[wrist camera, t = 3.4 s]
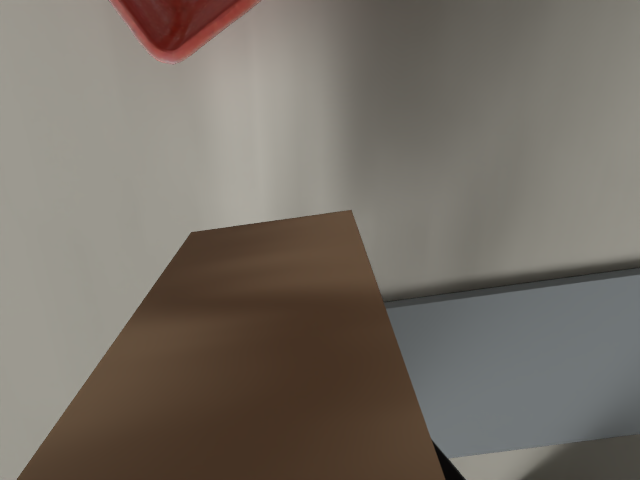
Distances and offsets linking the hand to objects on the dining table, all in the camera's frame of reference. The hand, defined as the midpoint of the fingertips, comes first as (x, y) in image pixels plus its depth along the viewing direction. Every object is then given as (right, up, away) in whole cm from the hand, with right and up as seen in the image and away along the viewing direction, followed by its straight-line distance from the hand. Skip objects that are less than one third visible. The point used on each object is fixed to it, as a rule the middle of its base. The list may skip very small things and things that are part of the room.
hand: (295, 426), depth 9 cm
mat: (+11, -4, +14) cm, 18 cm away
